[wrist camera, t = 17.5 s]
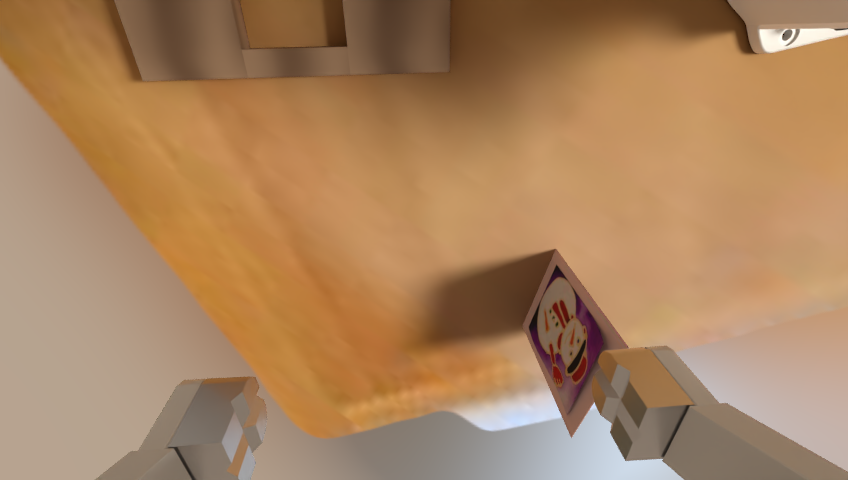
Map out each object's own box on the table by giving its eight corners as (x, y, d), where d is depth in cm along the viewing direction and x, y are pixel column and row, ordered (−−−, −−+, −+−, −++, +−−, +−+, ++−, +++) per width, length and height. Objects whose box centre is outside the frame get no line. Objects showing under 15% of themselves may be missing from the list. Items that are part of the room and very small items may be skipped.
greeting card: (548, 247, 42) (618, 346, 29) (608, 257, 44) (700, 355, 31) (516, 324, 48) (562, 437, 35) (569, 331, 49) (634, 441, 36)
